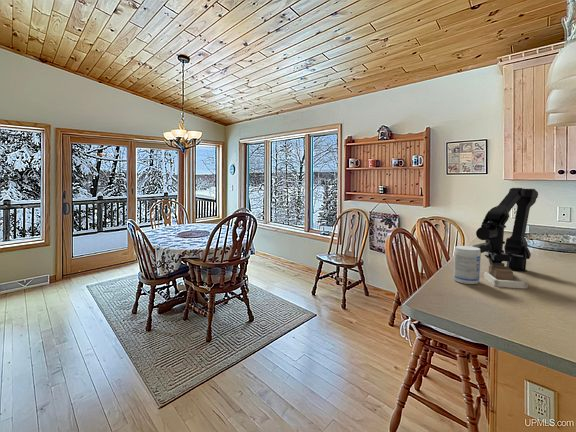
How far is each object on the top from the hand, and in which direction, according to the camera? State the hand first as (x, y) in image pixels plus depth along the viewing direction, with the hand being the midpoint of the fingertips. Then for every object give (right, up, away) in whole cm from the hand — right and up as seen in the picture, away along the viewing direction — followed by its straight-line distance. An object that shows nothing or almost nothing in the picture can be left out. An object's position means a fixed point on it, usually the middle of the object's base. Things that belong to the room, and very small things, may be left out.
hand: (493, 271), depth 135 cm
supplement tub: (-17, -3, -8) cm, 19 cm away
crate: (-2, -2, -6) cm, 7 cm away
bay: (-2, -3, -10) cm, 10 cm away
